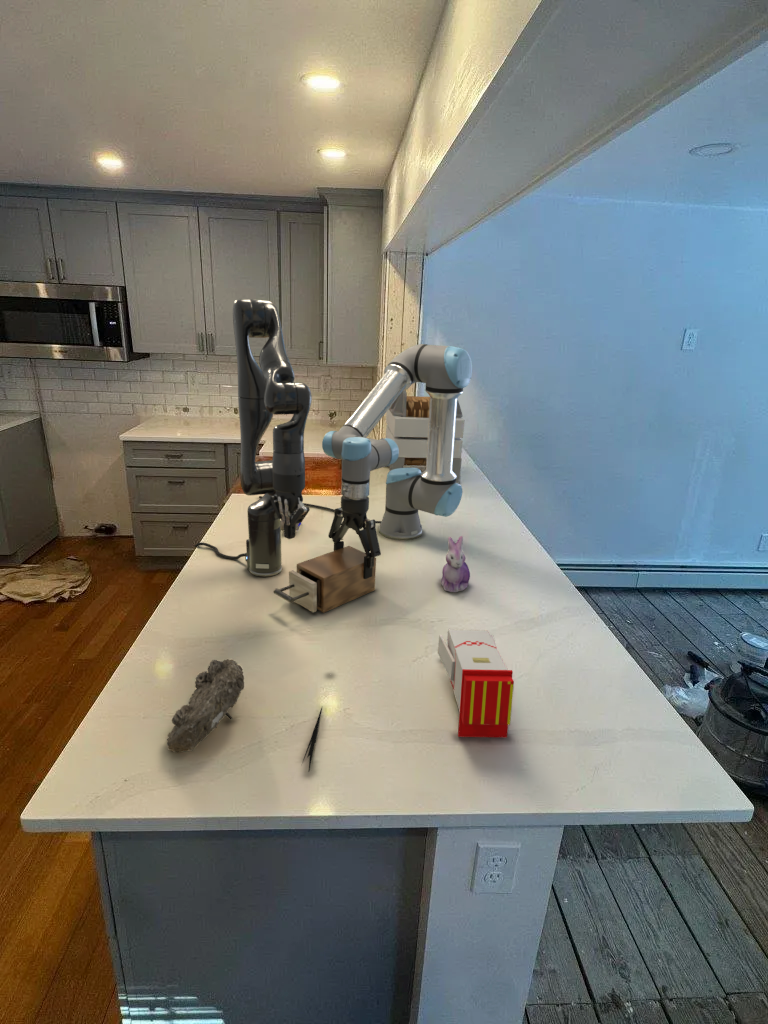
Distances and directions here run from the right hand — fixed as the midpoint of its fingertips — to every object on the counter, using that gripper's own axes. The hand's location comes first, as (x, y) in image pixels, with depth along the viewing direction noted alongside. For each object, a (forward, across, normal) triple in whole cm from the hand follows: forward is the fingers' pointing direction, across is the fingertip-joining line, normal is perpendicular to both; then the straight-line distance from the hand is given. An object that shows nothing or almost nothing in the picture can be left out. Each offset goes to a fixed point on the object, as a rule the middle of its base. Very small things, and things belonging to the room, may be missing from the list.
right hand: (353, 570), depth 159 cm
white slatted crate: (+5, -65, +105) cm, 124 cm away
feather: (+5, +36, -42) cm, 55 cm away
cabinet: (+5, 0, -6) cm, 8 cm away
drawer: (+4, 0, -13) cm, 13 cm away
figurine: (+5, +19, +23) cm, 30 cm away
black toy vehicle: (+5, -46, +14) cm, 48 cm away
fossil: (+5, +21, -56) cm, 61 cm away
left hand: (-16, 0, -22) cm, 27 cm away
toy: (+5, +51, -14) cm, 53 cm away
